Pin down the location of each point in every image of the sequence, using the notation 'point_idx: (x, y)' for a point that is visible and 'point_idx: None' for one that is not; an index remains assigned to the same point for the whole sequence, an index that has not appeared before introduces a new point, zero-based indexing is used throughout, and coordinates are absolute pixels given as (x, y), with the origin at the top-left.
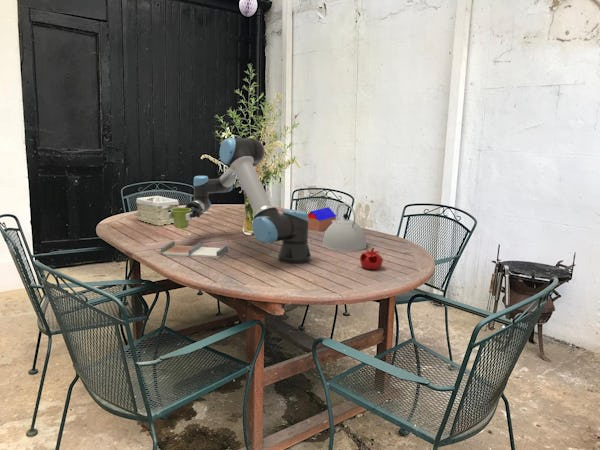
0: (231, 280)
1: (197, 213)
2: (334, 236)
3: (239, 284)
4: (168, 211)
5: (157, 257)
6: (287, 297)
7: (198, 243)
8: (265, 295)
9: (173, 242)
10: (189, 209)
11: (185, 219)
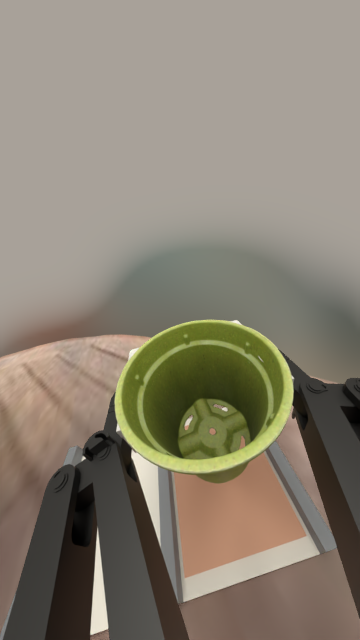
0: (71, 356)
1: (73, 467)
2: None
3: (63, 352)
4: (350, 382)
5: None
6: (23, 350)
7: (172, 574)
8: (44, 344)
9: (305, 516)
10: (144, 441)
11: (163, 391)
